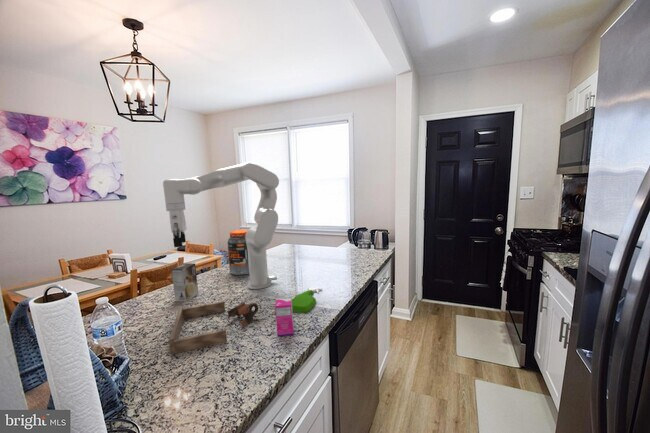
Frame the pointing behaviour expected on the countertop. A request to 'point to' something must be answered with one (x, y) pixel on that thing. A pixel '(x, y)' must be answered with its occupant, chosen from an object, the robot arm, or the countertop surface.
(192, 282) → the coffee box
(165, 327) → the countertop surface
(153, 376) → the countertop surface
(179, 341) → the wooden u-shaped frame
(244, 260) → the supplement tub
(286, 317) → the supplement box
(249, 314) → the pottery mug
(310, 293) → the spray bottle
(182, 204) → the robot arm
